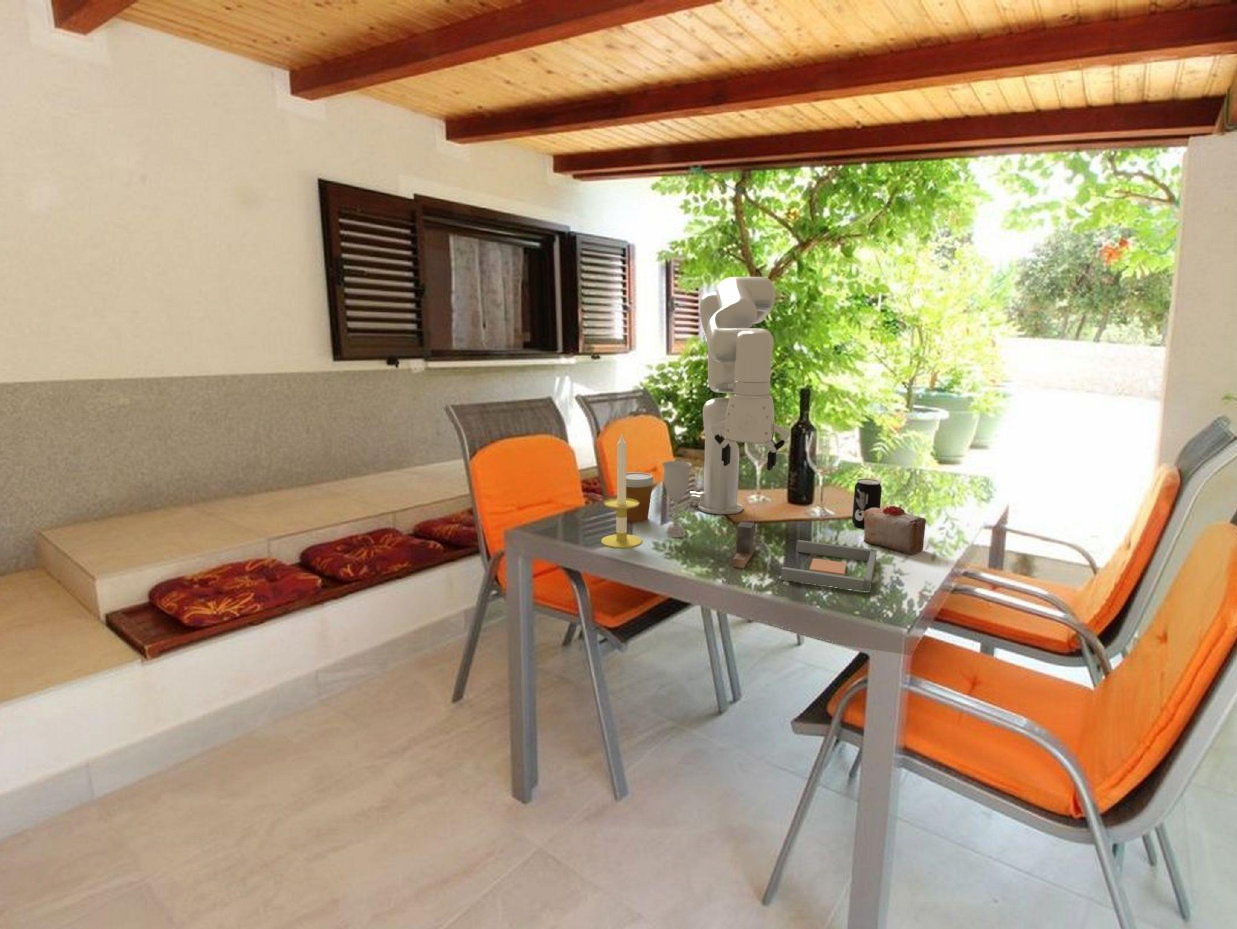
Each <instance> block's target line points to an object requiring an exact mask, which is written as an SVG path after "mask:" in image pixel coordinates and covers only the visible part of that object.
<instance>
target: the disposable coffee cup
mask: <svg viewBox="0 0 1237 929" xmlns="http://www.w3.org/2000/svg"><path fill="white" fill-rule="evenodd" d="M654 483H655V480H654V477H653V474H651V473H647V472H640V471H639V472H638V471H637V472H634V471H633V472H626V498H630V499H635V500H637V501H638V502H639V505H638V506H637V507H634V508H629V509H627V522H631V523H643V522H644V523H645V522H647V520H648V519H649V512H650V506H651V498H652V491H653V485H654Z"/></svg>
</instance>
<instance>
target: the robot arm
mask: <svg viewBox="0 0 1237 929" xmlns="http://www.w3.org/2000/svg"><path fill="white" fill-rule="evenodd" d="M775 302H776V289H775V285H774V283H773V282H772V280H771V279H769V278H768V277H765V276H732V277H731V276H730V277H727V278H725V279H723V280H722V281H721V282H719V284H718V286H717V287H716V291H712V292H709V293H705V294H704V295H703V296H702V297H701V299H700V303H699V316H700V322H701V326H702V329H703V332H704V334H705V337H706V345H707V379H708V380H707V381H708V386H709V388H710V390H711V391H713V392H714V393H720V394H721V393H723V394H730V395H729V397H714V398H710V399H709V400H707V401H706V402H705V403H704V405H703V407H702V419H703V429H704V430H703V431H704V469H703V470H704V471H703V472H704V474H703V491H700V492H697V491H690V492H689V498H690V500H695V501H696V500H697V501H699V502H698V503H697V508H698V510H699V511H702V512H704V513H706V514H707V513H708V514H713V515H734V514H738V513H740V512H742V511H743V509H744V508H743V504H742V503H741V502H739V501H738V491H739V472H740V471H739V467H740V466H739V464H740V448H739V445H738V443H745V444H746V443H747V444H758V445H766V447H767V448H768V450H769V451H768V452H767V462H766V464H767V465H766V470H768V471H772V469H773V468H774V467H776V465H777V451H779V449H781V448H782V447H783V446H785V444H786V443H787V441H788V440H789V438H790V437H791V431H789V430H788V429H786V428H784V427H783V426H781V425H779V424H777V423H775V407H774V406H775V405H774V399H773V396H772V395H771V394H770V393H771V377H772V376H771V372H772V358H773V357H772V354H773V352H774V346H775V345H774V342H775V341H774V336H773V335H772V334H771V332H770V330H768V329H765V328H761V327H760V328H759V327H756V328H755V327H752V326H753V325H755V324H756V325H757V324H760V323H762V322H763V321H765V319H766V317H768V315H769V313H770V312H771V311H772V309H773V307H774V305H775ZM751 327H752V328H751ZM775 432H776V434H779V435H781V438H780V439H779V441H777V442H776V441H775V440H774V437H775Z"/></svg>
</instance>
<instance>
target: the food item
mask: <svg viewBox="0 0 1237 929" xmlns="http://www.w3.org/2000/svg"><path fill="white" fill-rule="evenodd" d="M926 522H927V519H926V518H924V517H921V516H918V515H914V514H909V513H906V512H905V510H904V508H902V505H901V504H900V505H899V506H895V505H889V506H886V507H885V508H881V507H880V508H870V509H868V510H866V511H864V524H865V526H864V528H863V529H864V532H863V533H864V534H863V543H864V542H865V543H867V544H871V545H875V546H880V547H884V548H887V549H891V550H893V551H897V552H901V553H904V554H908V555H916V554H918V553H921V552H923V549H924V544H925V543H924V542H925V541H924V540H925V534H926V533H925V532H926Z"/></svg>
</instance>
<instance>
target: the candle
mask: <svg viewBox="0 0 1237 929" xmlns="http://www.w3.org/2000/svg"><path fill="white" fill-rule="evenodd" d="M616 449H617V451H616V453H617V454H616V458H617V459H616V461H617V462H616V467H617V468H616V470H617V473H616V475H617V476H616V478H617V480H616V482H617V483H616V491H617V492H616V496H617V497H615V498H614V497H613V498H609V499H606V500H605V501H603V505H604V506H605V507H607V508H609V509H610V508H611V509H616V512H615V513H616V517H615V518H616V521H615V522H616V524H615V525H616V530H615V532H616V533H614V534H610V535H606V536H604V537H602V539H601V540H600V543H601V544H602V546H605V547H608V548H610V549H620V550H621V549H623V550H624V549H631V548H637V547H639V546H640V545H641V544H642V543H643V540H642V538H641V537H639V536H637V535H633V534H627V533H628V532H627V531H628V529H627V528H628V521H627V509H629V508H634V507H637V506H638V505H639V502H638V501H637V500H635V499H630V498H626V473H627V441H625V439H624V434H623V433H621V434H620V437H619V440H618V441H617V443H616Z"/></svg>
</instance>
